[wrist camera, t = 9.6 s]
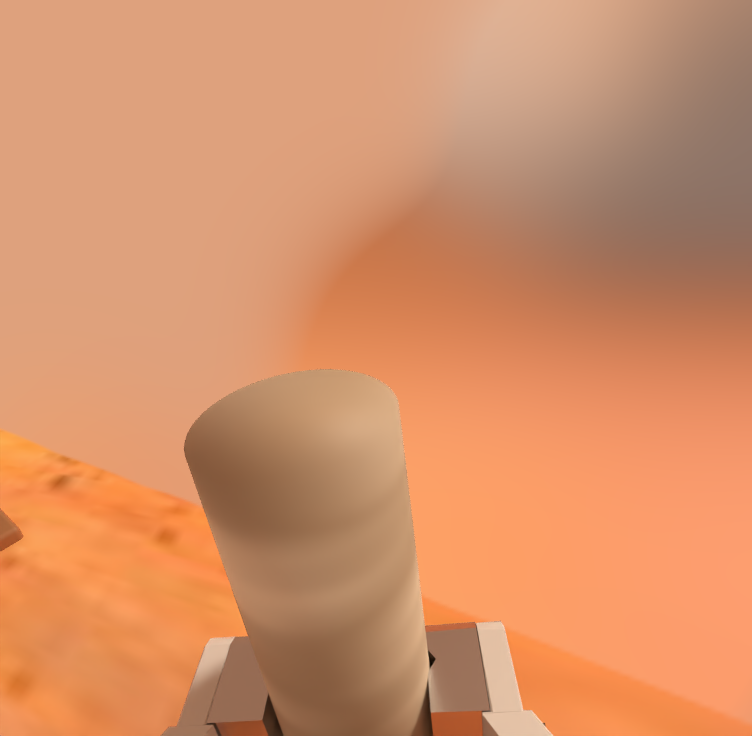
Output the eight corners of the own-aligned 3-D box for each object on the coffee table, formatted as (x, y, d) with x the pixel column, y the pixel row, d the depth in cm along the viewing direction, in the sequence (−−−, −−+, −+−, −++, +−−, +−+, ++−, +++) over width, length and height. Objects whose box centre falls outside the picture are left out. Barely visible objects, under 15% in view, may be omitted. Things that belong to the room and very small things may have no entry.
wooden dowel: (340, 971, 12) (144, 497, 6) (349, 819, 14) (222, 378, 8) (462, 970, 11) (400, 476, 5) (449, 817, 14) (397, 361, 8)
